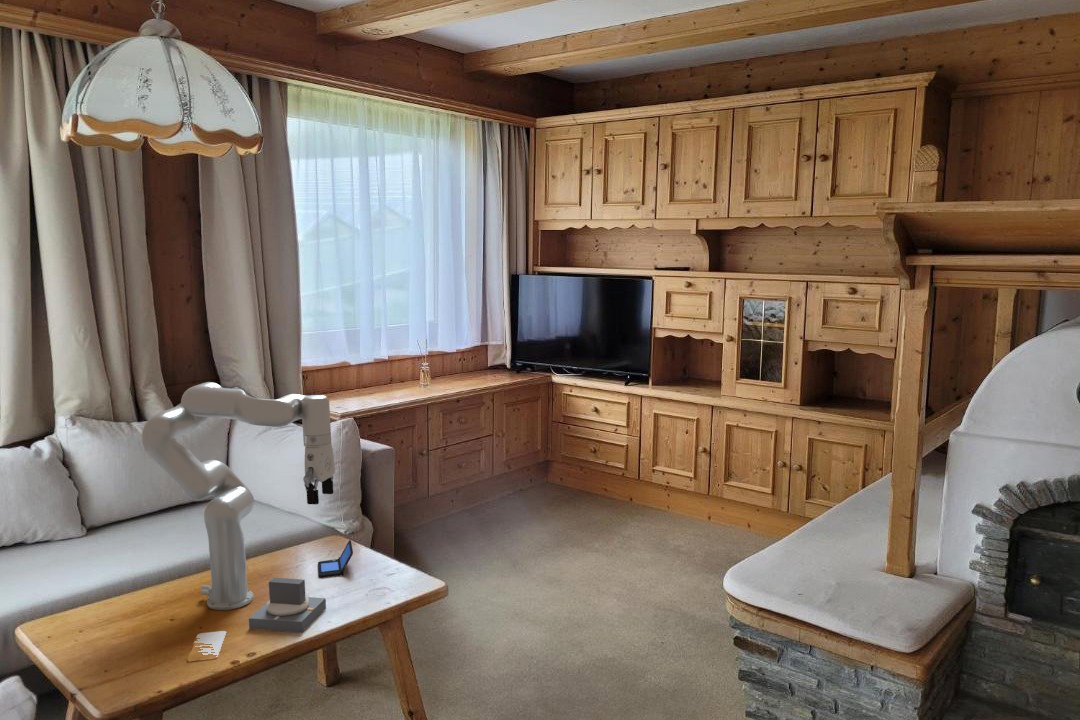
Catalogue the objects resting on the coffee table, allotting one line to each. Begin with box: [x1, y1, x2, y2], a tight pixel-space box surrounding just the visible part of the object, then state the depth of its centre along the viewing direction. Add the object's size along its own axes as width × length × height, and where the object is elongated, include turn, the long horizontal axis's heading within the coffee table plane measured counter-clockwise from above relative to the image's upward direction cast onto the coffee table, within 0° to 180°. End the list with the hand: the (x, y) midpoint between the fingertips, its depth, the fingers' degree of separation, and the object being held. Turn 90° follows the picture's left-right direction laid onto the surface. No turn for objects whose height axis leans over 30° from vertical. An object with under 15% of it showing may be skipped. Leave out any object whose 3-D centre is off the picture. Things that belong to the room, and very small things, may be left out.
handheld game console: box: [317, 539, 354, 579], centre depth 256 cm, size 12×11×7 cm
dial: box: [266, 577, 309, 616], centre depth 220 cm, size 11×11×8 cm
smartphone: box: [193, 630, 227, 658], centre depth 206 cm, size 7×1×15 cm
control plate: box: [248, 596, 327, 633], centre depth 221 cm, size 15×15×3 cm
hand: (320, 498), depth 228 cm, fingers open, 9 cm apart
